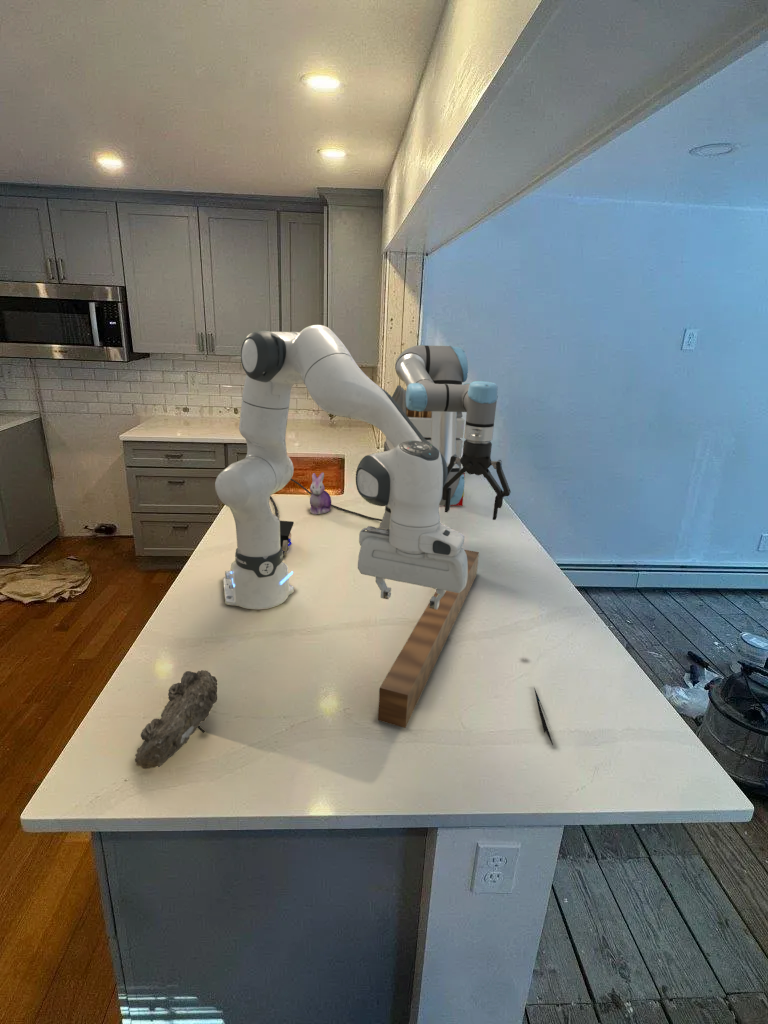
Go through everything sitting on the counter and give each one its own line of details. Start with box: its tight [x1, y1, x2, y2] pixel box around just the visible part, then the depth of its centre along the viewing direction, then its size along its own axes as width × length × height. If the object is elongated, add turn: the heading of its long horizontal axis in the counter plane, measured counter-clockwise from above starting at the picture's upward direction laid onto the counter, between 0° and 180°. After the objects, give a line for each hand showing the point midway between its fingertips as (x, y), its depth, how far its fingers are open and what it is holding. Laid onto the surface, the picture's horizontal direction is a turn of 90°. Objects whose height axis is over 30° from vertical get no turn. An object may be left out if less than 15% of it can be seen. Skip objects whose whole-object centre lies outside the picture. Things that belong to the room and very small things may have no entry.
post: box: [377, 549, 480, 729], centre depth 139 cm, size 72×6×8 cm, turn 161°
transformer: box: [383, 384, 466, 471], centre depth 268 cm, size 34×33×41 cm
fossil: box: [134, 669, 218, 770], centre depth 103 cm, size 22×10×15 cm
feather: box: [524, 658, 554, 746], centre depth 117 cm, size 2×28×2 cm
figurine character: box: [279, 520, 295, 556], centre depth 182 cm, size 7×8×15 cm
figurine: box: [309, 472, 332, 515], centre depth 216 cm, size 9×10×15 cm
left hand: (409, 602), depth 106 cm, fingers open, 8 cm apart
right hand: (470, 514), depth 160 cm, fingers open, 13 cm apart
